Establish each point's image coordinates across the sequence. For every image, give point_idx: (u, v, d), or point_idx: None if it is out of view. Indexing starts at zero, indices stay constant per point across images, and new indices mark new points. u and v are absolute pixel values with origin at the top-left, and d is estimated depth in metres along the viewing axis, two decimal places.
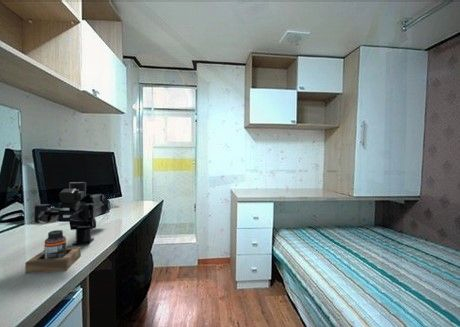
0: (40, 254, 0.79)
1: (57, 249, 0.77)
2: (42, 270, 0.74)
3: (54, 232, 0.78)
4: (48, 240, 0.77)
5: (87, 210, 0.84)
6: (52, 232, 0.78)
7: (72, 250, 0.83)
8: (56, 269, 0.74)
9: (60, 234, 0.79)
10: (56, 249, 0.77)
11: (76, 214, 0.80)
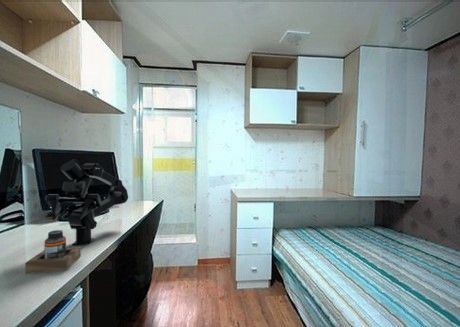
0: (40, 254, 0.79)
1: (57, 249, 0.77)
2: (42, 270, 0.74)
3: (54, 232, 0.78)
4: (48, 240, 0.77)
5: (93, 203, 0.92)
6: (52, 232, 0.78)
7: (72, 250, 0.83)
8: (56, 269, 0.74)
9: (60, 234, 0.79)
10: (56, 249, 0.77)
11: (84, 212, 0.90)
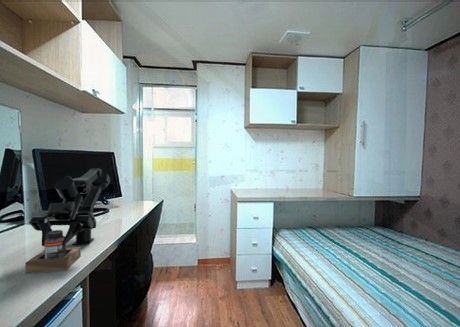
0: (40, 254, 0.79)
1: (57, 249, 0.77)
2: (42, 270, 0.74)
3: (54, 232, 0.78)
4: (48, 240, 0.77)
5: (79, 225, 0.83)
6: (52, 232, 0.78)
7: (72, 250, 0.83)
8: (56, 269, 0.74)
9: (60, 234, 0.79)
10: (56, 249, 0.77)
11: (69, 236, 0.80)
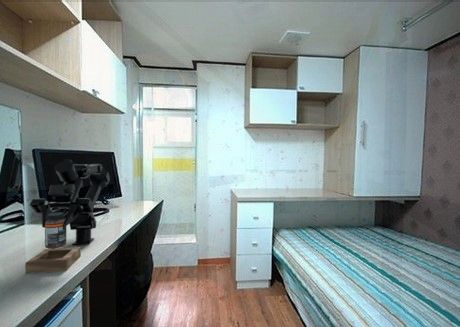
0: (40, 254, 0.79)
1: (58, 231, 0.77)
2: (42, 270, 0.74)
3: (54, 214, 0.78)
4: (48, 221, 0.77)
5: (79, 208, 0.83)
6: (52, 214, 0.78)
7: (72, 250, 0.83)
8: (56, 269, 0.74)
9: (60, 216, 0.79)
10: (56, 230, 0.77)
11: (69, 218, 0.80)
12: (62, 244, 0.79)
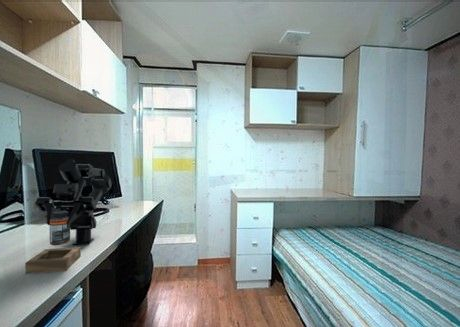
0: (40, 254, 0.79)
1: (62, 228, 0.80)
2: (42, 270, 0.74)
3: (59, 212, 0.81)
4: (53, 219, 0.80)
5: (82, 206, 0.86)
6: (57, 212, 0.81)
7: (72, 250, 0.83)
8: (56, 269, 0.74)
9: (64, 214, 0.82)
10: (60, 228, 0.80)
11: (73, 216, 0.83)
12: (66, 241, 0.82)
